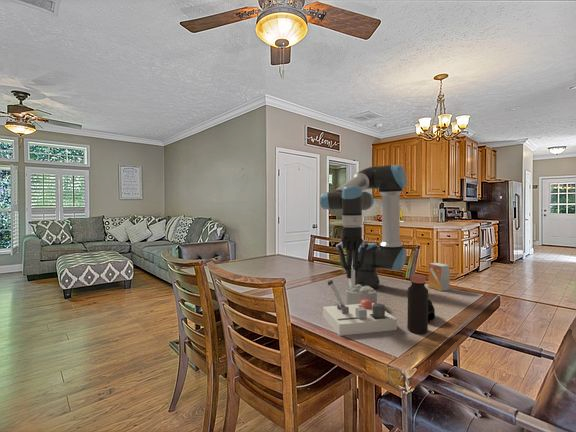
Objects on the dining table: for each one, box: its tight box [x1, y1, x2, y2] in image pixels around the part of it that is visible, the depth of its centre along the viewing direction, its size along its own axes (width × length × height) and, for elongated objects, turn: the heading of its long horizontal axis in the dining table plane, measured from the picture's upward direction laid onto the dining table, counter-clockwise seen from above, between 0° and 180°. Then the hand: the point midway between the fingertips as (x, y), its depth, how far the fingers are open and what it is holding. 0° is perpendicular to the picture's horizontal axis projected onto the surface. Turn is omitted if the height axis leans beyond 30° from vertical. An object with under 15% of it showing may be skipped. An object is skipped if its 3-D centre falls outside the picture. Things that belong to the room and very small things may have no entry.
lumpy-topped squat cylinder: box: [345, 284, 378, 305], centre depth 136 cm, size 10×13×9 cm
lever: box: [327, 279, 346, 309], centre depth 118 cm, size 2×3×13 cm
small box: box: [427, 262, 451, 292], centre depth 161 cm, size 8×6×13 cm
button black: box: [373, 303, 386, 319], centre depth 113 cm, size 4×4×6 cm
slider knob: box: [356, 307, 367, 319], centre depth 111 cm, size 3×3×3 cm
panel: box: [322, 302, 398, 336], centre depth 117 cm, size 22×18×6 cm
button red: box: [361, 299, 372, 309], centre depth 123 cm, size 4×4×6 cm
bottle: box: [406, 273, 429, 335], centre depth 109 cm, size 7×7×20 cm
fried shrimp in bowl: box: [428, 298, 436, 323], centre depth 124 cm, size 9×11×18 cm
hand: (351, 286), depth 119 cm, fingers closed
